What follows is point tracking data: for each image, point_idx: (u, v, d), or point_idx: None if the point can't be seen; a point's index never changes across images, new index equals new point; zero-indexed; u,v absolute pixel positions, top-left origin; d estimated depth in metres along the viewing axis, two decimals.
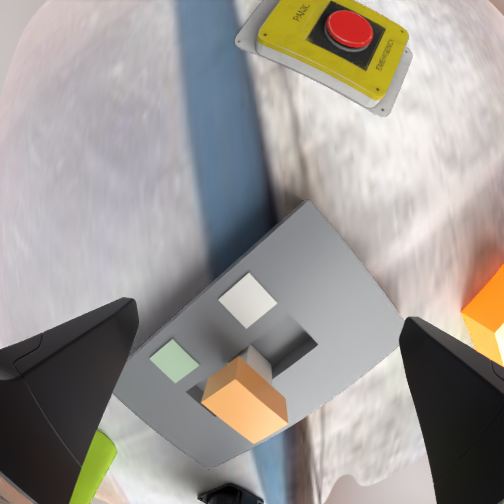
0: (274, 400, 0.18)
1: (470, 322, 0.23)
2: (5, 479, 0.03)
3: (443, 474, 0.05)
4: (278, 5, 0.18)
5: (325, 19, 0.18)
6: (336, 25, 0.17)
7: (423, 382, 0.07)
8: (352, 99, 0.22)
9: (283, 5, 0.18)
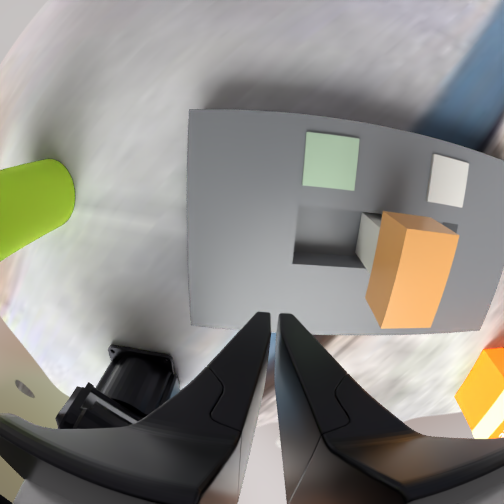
0: None
1: (485, 363, 0.23)
2: None
3: (291, 498, 0.05)
4: None
5: None
6: None
7: (280, 387, 0.07)
8: None
9: None
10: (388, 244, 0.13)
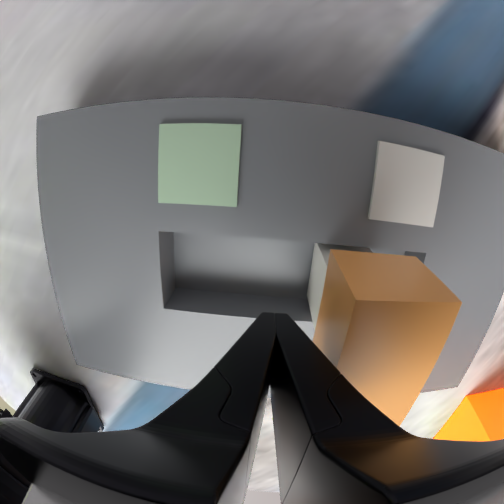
0: None
1: (467, 412, 0.18)
2: None
3: (284, 498, 0.05)
4: None
5: None
6: None
7: (274, 387, 0.07)
8: None
9: None
10: (331, 311, 0.08)
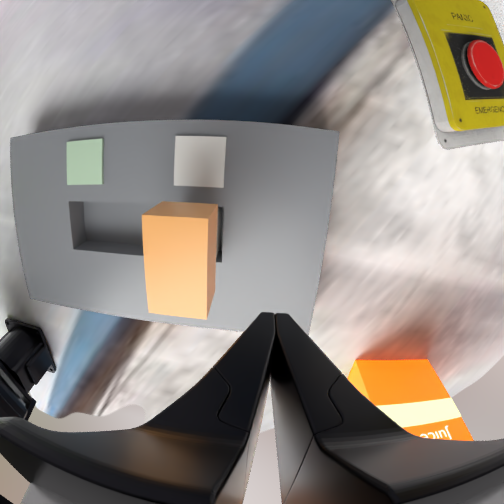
0: (211, 281, 0.15)
1: (355, 376, 0.25)
2: None
3: (285, 498, 0.05)
4: None
5: (473, 40, 0.13)
6: (479, 50, 0.12)
7: (275, 387, 0.07)
8: (431, 107, 0.17)
9: (454, 0, 0.12)
10: None
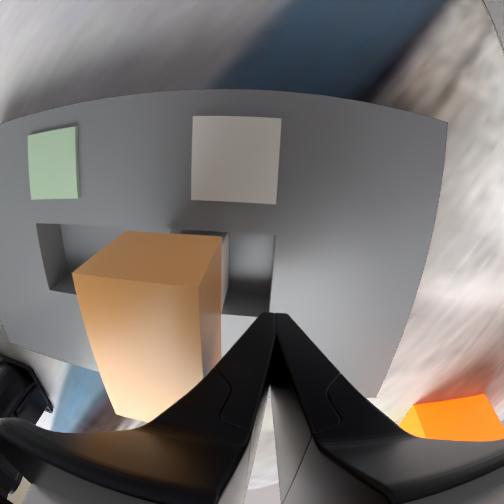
0: None
1: (413, 424, 0.18)
2: None
3: (285, 498, 0.05)
4: None
5: None
6: None
7: (274, 387, 0.07)
8: None
9: None
10: None
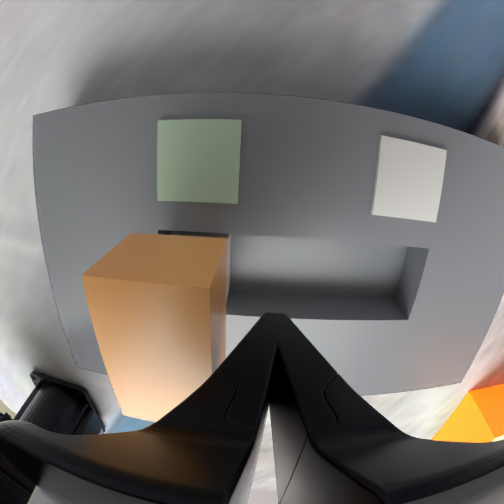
0: None
1: (469, 408, 0.18)
2: None
3: (282, 498, 0.05)
4: None
5: None
6: None
7: (272, 387, 0.07)
8: None
9: None
10: None
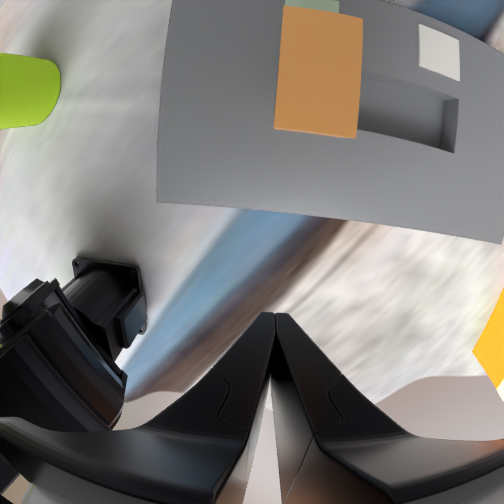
0: None
1: None
2: None
3: (285, 498, 0.05)
4: None
5: None
6: None
7: (275, 387, 0.07)
8: None
9: None
10: None
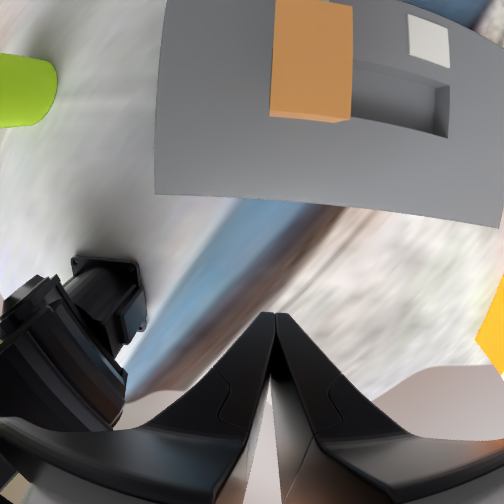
0: None
1: None
2: None
3: (285, 498, 0.05)
4: None
5: None
6: None
7: (275, 387, 0.07)
8: None
9: None
10: None
